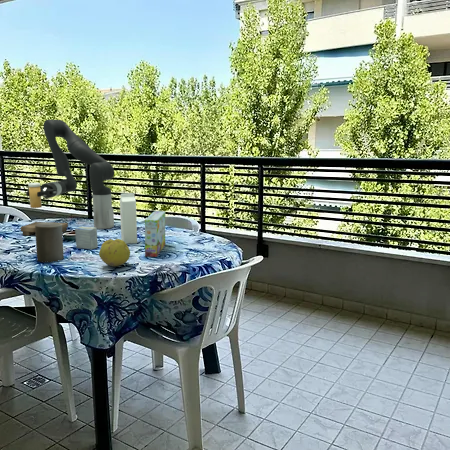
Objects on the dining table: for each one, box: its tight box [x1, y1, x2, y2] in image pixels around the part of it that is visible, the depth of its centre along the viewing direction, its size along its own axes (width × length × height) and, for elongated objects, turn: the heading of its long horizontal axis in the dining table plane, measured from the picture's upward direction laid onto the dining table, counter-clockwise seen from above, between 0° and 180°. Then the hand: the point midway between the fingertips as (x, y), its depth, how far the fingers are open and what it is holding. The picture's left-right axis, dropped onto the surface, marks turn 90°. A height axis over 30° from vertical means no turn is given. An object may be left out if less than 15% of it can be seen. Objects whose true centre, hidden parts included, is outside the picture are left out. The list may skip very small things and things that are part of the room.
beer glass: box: [27, 182, 43, 209], centre depth 217 cm, size 5×5×12 cm
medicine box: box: [74, 226, 99, 250], centre depth 192 cm, size 8×4×9 cm, turn 71°
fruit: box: [98, 238, 131, 267], centre depth 166 cm, size 11×12×10 cm
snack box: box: [144, 210, 166, 258], centre depth 188 cm, size 21×6×15 cm, turn 179°
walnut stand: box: [20, 221, 69, 236], centre depth 219 cm, size 17×13×4 cm
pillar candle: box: [34, 221, 64, 263], centre depth 174 cm, size 10×10×15 cm
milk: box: [119, 192, 138, 245], centre depth 201 cm, size 6×6×22 cm
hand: (32, 194), depth 215 cm, fingers closed on beer glass, 5 cm apart
